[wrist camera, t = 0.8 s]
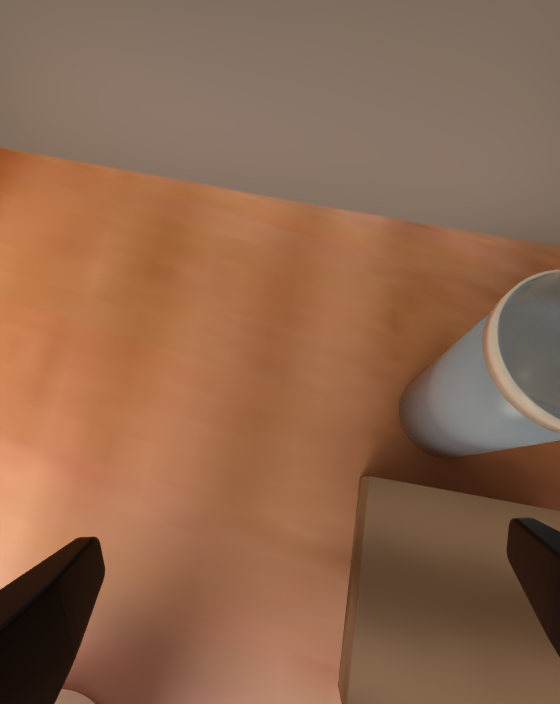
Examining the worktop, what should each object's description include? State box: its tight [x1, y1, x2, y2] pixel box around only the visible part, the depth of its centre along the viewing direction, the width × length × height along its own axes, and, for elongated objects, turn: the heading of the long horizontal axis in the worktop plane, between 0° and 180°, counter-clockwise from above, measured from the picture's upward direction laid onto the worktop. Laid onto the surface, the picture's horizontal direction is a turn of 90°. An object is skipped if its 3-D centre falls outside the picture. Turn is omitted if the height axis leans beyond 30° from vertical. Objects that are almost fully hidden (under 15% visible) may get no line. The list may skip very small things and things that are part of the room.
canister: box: [399, 270, 560, 458], centre depth 17 cm, size 5×5×12 cm
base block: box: [338, 476, 560, 704], centre depth 18 cm, size 10×10×3 cm
